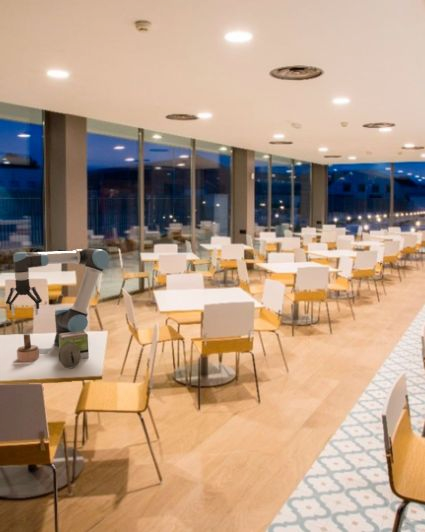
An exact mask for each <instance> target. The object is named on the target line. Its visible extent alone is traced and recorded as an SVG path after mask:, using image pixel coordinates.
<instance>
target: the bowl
mask: <svg viewBox="0 0 425 532" xmlns="http://www.w3.org/2000/svg"><path fill="white" fill-rule="evenodd" d="M39 349H40V348H39V347H38V349H37V350H35V351H31V352H19V351H18V349H16V358H17V361H19V362H32V361H35V360H38V359H39V358H40V354H39Z"/></svg>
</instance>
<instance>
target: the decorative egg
mask: <svg viewBox="0 0 425 532" xmlns="http://www.w3.org/2000/svg"><path fill="white" fill-rule="evenodd" d="M80 358H81V354H80V350H79V348H78V346H77V345H76V344H75V343H74V342H70V341H68V342H65V343H64V344H63V345H62V346H61V348H60V351H58V359H59V362H60V364H61V365H62V367H64V368H66V369H73V368H75V367H77V366H78V365H79V363H80V362H81V359H80Z"/></svg>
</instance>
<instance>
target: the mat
mask: <svg viewBox="0 0 425 532" xmlns="http://www.w3.org/2000/svg"><path fill="white" fill-rule="evenodd" d="M51 350H52V348H50V347H49V348H39V355H46V354H48V353H49V352H50V351H51Z"/></svg>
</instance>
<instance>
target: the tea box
mask: <svg viewBox="0 0 425 532" xmlns="http://www.w3.org/2000/svg"><path fill="white" fill-rule="evenodd" d="M68 341H70V342H74V343H75V344H76V345H77V346H78V348H79V350H80V354H81V358H80V360H82V359H88V358H89V354H90V353H89V336H88V333H87V332H86V331H85V330H84V331H76V332H69V333H61V334H59V346H58V347H59V348H58V349H59V351H60V348H61V346H62V345H63V344H64V343H65V342H68ZM59 351H58V352H59Z"/></svg>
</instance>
